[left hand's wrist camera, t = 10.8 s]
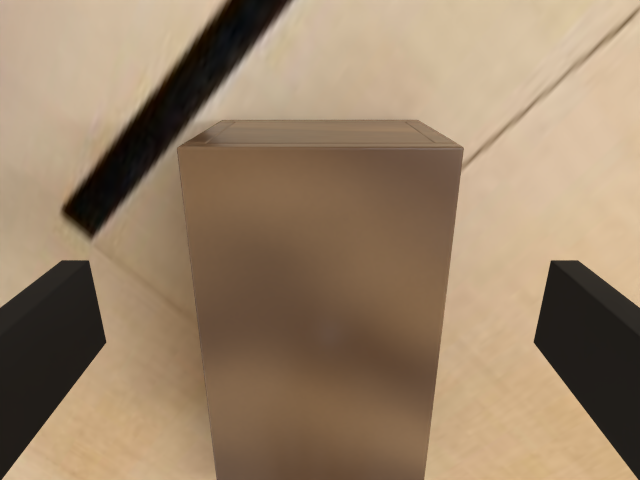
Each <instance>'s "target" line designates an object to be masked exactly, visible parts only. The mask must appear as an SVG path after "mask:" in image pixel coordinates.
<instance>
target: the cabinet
mask: <svg viewBox="0 0 640 480" xmlns="http://www.w3.org/2000/svg"><path fill="white" fill-rule="evenodd" d="M463 150H464V149H463V147H462V146H460V145H459V144H457V143H456V142H454V141H452V140H451V139H449V138H447V137H446V136H444V135H442V134H440V133H439V132H437V131H435V130H434V129H432V128H430V127H429V126H427V125H425V124H424V123H422V122H420V121H419V120H222V121H220V122H219V123H217V124H216V125H214V126H212V127H211V128H209V129H207V130H206V131H204V132H202V133H201V134H199V135H197V136H196V137H194V138H192V139H191V140H189V141H187V142H186V143H184V144H182V145H181V146H179V147H178V148H177V153H178V161H179V169H180V178H181V186H182V194H183V203H184V211H185V219H186V228H187V236H188V244H189V253H190V261H191V269H192V278H193V286H194V294H195V302H196V311H197V319H198V327H199V336H200V344H201V352H202V361H203V369H204V377H205V386H206V394H207V402H208V411H209V419H210V427H211V436H212V444H213V452H214V460H215V469H216V477H217V480H424V476H425V468H426V459H427V451H428V443H429V434H430V426H431V417H432V409H433V401H434V392H435V384H436V376H437V367H438V359H439V351H440V342H441V334H442V326H443V317H444V309H445V300H446V292H447V284H448V275H449V267H450V259H451V250H452V242H453V234H454V225H455V217H456V209H457V200H458V192H459V184H460V175H461V167H462V158H463Z"/></svg>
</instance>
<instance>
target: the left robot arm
mask: <svg viewBox="0 0 640 480" xmlns="http://www.w3.org/2000/svg"><path fill="white" fill-rule="evenodd" d="M105 343H106V338H105V334H104V329H103V324H102V320H101V315H100V310H99V305H98V301H97V296H96V291H95V287H94V282H93V277H92V273H91V268H90V263H89V261H61V262H59V263H58V264H57V265H55V266H54V267H53V268H52V269H50V270H49V271H48V272H46V273H45V274H44V275H42V276H41V277H40V278H39V279H37V280H36V281H35V282H33V283H32V284H31V285H29V286H28V287H27V288H26V289H24V290H23V291H22V292H20V293H19V294H18V295H16V296H15V297H14V298H13V299H11V300H10V301H9V302H7V303H6V304H5V305H3V306H2V307H1V308H0V480H2V478H3V477H4V476H5V474H6V473H7V472H8V471H9V469H10V468H11V467H12V465H13V464H14V463H15V461H16V460H17V459H18V457H19V456H20V455H21V453H22V452H23V451H24V450H25V448H26V447H27V446H28V444H29V443H30V442H31V440H32V439H33V438H34V436H35V435H36V434H37V433H38V431H39V430H40V429H41V427H42V426H43V425H44V423H45V422H46V421H47V419H48V418H49V417H50V415H51V414H52V413H53V412H54V410H55V409H56V408H57V406H58V405H59V404H60V402H61V401H62V400H63V398H64V397H65V396H66V395H67V393H68V392H69V391H70V389H71V388H72V387H73V385H74V384H75V383H76V381H77V380H78V379H79V377H80V376H81V375H82V374H83V372H84V371H85V370H86V368H87V367H88V366H89V364H90V363H91V362H92V360H93V359H94V358H95V356H96V355H97V354H98V353H99V351H100V350H101V349H102V347H103V346H104V345H105ZM534 343H535V345H536V346H537V347H538V349H539V350H540V351H541V353H542V354H543V355H544V356H545V358H546V359H547V360H548V362H549V363H550V364H551V366H552V367H553V368H554V370H555V371H556V372H557V374H558V375H559V376H560V377H561V379H562V380H563V381H564V383H565V384H566V385H567V387H568V388H569V389H570V391H571V392H572V393H573V395H574V396H575V397H576V398H577V400H578V401H579V402H580V404H581V405H582V406H583V408H584V409H585V410H586V412H587V413H588V414H589V415H590V417H591V418H592V419H593V421H594V422H595V423H596V425H597V426H598V427H599V429H600V430H601V431H602V433H603V434H604V435H605V436H606V438H607V439H608V440H609V442H610V443H611V444H612V446H613V447H614V448H615V450H616V451H617V452H618V453H619V455H620V456H621V457H622V459H623V460H624V461H625V463H626V464H627V465H628V467H629V468H630V469H631V471H632V472H633V473H634V474H635V476H636V477H637V478H638V480H640V308H639V307H638V306H637V305H635V304H634V303H633V302H631V301H630V300H629V299H627V298H626V297H625V296H624V295H622V294H621V293H620V292H618V291H617V290H616V289H614V288H613V287H612V286H611V285H609V284H608V283H607V282H605V281H604V280H603V279H601V278H600V277H599V276H598V275H596V274H595V273H594V272H592V271H591V270H590V269H588V268H587V267H586V266H585V265H583V264H582V263H581V262H579V261H551V263H550V268H549V272H548V277H547V282H546V287H545V291H544V296H543V301H542V305H541V310H540V315H539V320H538V324H537V329H536V334H535V338H534Z"/></svg>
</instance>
